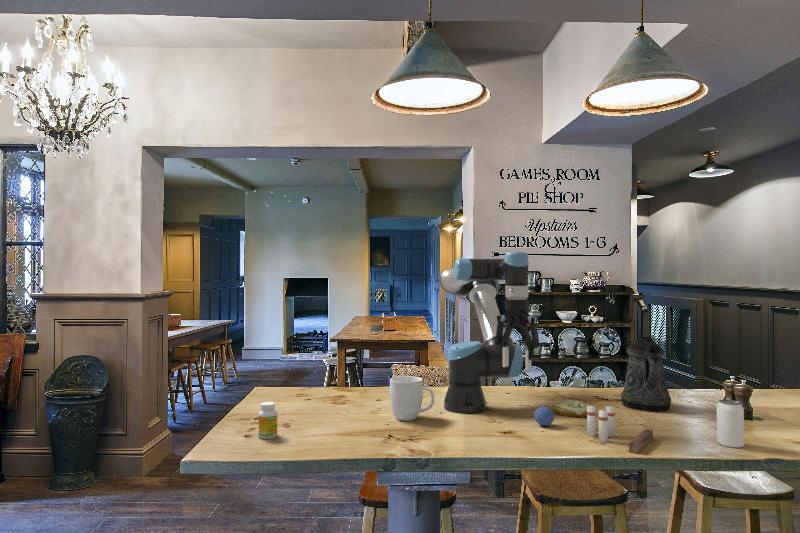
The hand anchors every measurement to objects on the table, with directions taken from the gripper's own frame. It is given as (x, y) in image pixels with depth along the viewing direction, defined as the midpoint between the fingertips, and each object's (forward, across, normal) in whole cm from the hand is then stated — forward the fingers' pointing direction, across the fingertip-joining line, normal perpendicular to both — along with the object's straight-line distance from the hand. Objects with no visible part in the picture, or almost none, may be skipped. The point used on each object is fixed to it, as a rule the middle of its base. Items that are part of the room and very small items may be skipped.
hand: (516, 367), depth 171 cm
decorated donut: (+18, +10, +20) cm, 29 cm away
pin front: (+17, +24, 0) cm, 30 cm away
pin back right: (+17, +29, -3) cm, 34 cm away
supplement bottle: (+17, -49, -63) cm, 81 cm away
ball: (+14, +10, 0) cm, 17 cm away
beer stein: (+17, +29, +46) cm, 57 cm away
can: (+17, +58, +17) cm, 62 cm away
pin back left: (+17, +29, +3) cm, 34 cm away
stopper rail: (+17, +38, 0) cm, 42 cm away
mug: (+17, -28, -21) cm, 39 cm away
